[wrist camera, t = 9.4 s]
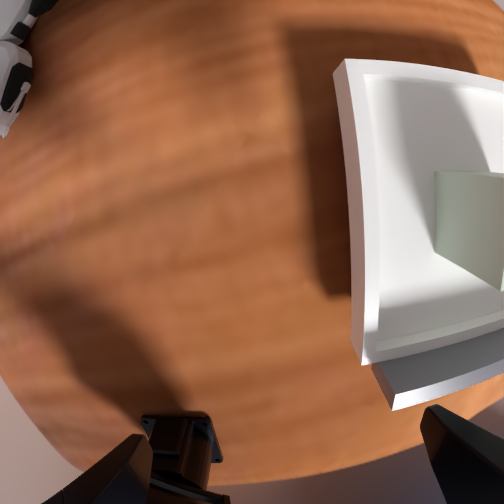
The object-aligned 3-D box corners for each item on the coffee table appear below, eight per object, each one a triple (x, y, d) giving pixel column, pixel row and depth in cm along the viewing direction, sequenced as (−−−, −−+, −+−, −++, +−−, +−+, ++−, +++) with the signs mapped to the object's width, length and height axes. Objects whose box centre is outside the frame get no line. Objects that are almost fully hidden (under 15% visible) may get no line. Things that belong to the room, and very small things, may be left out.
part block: (489, 244, 15) (554, 275, 9) (434, 252, 15) (500, 291, 9) (490, 171, 14) (561, 181, 8) (434, 171, 14) (508, 178, 8)
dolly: (489, 307, 20) (546, 351, 13) (341, 339, 21) (374, 415, 13) (490, 98, 16) (562, 86, 8) (324, 84, 17) (363, 35, 9)
